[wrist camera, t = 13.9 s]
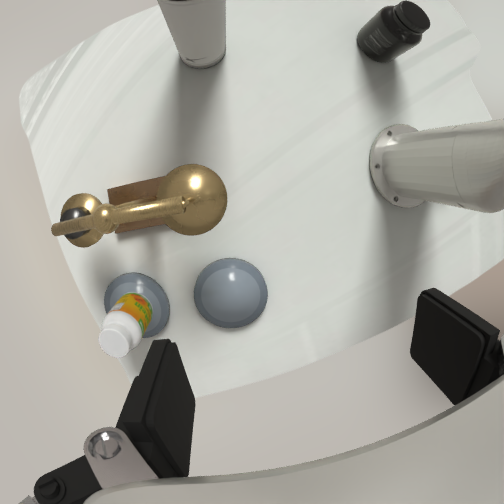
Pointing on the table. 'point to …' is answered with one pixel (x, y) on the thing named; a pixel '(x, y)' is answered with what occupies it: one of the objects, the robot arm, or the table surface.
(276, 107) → the table surface
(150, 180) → the balance
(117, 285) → the dish low side
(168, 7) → the travel mug
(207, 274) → the dish high side
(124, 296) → the supplement bottle
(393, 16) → the supplement bottle
